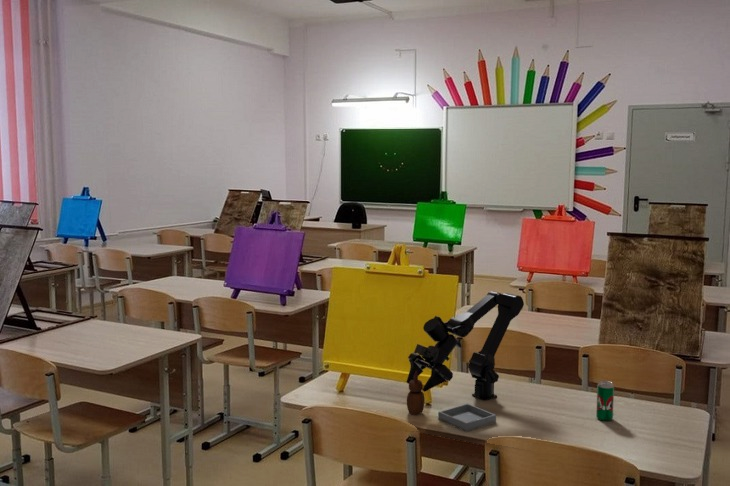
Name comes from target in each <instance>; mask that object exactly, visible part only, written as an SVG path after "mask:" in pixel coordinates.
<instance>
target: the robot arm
mask: <svg viewBox="0 0 730 486" xmlns="http://www.w3.org/2000/svg"><path fill="white" fill-rule="evenodd" d="M524 305H525V303H524V299H523V297H522V296H521V295H517V294H514V293H509V292H506V293H503V294H502V293H500V292H497V291H489V292H488V293H487V294H486V295H485V296H484V297H483V298H481V299H480V300H479V301H478V302H476V303H475V304H474V305H473V306H471V307H470V308H469V309H468V310H466V311H465V312H462V313H460V314H456V315H454V316H455V318H454V316H453V317H451V318H449V320H446V321H443V319H442V318H441V317H440V316H437V315H435V316H434V317H433V318H430V319H429V320H427V321H426V322H425V323H424V324H423V326H422V327H423V328H422V329H423V331H424V333H426V334H427V335H428V336H429V338H430V339H431V340H432V341H433V342H436V343H435V344H434V345H428V347H426V346H424V345H421V344H419V343H417V344H416V346H415V348H414V352H411V353H410V354H409V355H408V357H407V359H408V362H409V364H410V368H409V372H408V376H407V379H406V384H407V385H409V382H410V381H411V380H413V378H414V374H415V371H416V372H418V377H419V376H420V375H421V374H422V373H423V372H424V370H425V369H430V370H431V372H430V376H429V378H428V380H427V381H426V382H425V384H424V386H423V389H422V392H423V393H424V392H427V391H429V390H431V389H432V388H435V387H436V386H438V385H440V384H443V383H447V382H451V380H452V379H453V377H454V372H453V371H451V369H450V368H449V367H447V365H445V364H444V363H445V361H446V362H448V361H449V360H450V357H449V356H450V355H451V353H452V351H453V350H454V349H455V347H457V348H462V343H461V342H462V340H461V338H465V337H468V335H469V334H470V333H471V332H472V330H473V329H474V327H475V324H476V323H477V322H479V321H480V319H482V318H483V317H484V316H485V315H487V314H488V313H489V312H490V311H492V310H493V309H494V308H495V307H497V315H496V318H495V320H494V322H493V324H492V327H491V329H490V331H489V332H488V336H486V339H485V342H484V344H483V346H482V348H481V350H480V351H478V352H477V351H474V352H472V355H471V356H470V357H471V358H470V359H469V360H468V371H469V372H470V375H471V378H473V379H475V380H474V382H475V383H474V393H472V394H471V396H472V397H475V398H478V399H479V400H482V401H487V400H492V399H494V398H498V395H497V394H495V393H494V392H495V384H496V383H497V382H499V378H500V375H499V374H498V373H497V372H496V371H495V366H496V362H495V361H496V360H495V359H496V358H495V356H496V353H497V351H498V350H499V347H500V345H501V343H502V341H503V339H504V337H505V334H506V332H507V330H508V327H509V325H510V324H511V321H512V320H513V319H515V318H516V317H517V316H519V314H520V312H521V311H522V310H523V308H524ZM457 337H460V338H457Z"/></svg>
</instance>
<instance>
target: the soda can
mask: <svg viewBox="0 0 730 486" xmlns="http://www.w3.org/2000/svg"><path fill="white" fill-rule="evenodd" d="M596 388H597V390H596V414H595V415H596V419H598V420H600V421H603V422H610V421H612V420H613V419H614V400H615V399H614V397H615V396H614V395H615V385H614V383H613V382H612V381H609V380H600V381H598V383H597V386H596Z"/></svg>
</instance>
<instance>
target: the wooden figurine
mask: <svg viewBox="0 0 730 486" xmlns="http://www.w3.org/2000/svg"><path fill="white" fill-rule="evenodd" d="M423 388H424V386H423V382H422V380H420V379H419V376H418V372H416V371H415V374H414V378H413V380H411V381H410V382H409V384H408V390H409V391H408V393H407V396H406V408H407V411H408V413H409V414H410V415H413V416H419V415H422V413H423V412H424V408H425V394H424V391H423Z"/></svg>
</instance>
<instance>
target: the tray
mask: <svg viewBox="0 0 730 486" xmlns="http://www.w3.org/2000/svg"><path fill="white" fill-rule="evenodd" d="M437 413H438V414H437V415H438V416H437V418H438V420H439V421H441V422H444V423H446V424H449V425H450V426H452V427H454V426H455V427H454V428H457V429H459V430H461V429H462V431H463V430H464V431H463V432H465V431H466V432H465V433H467V431H468V432H470V431H471V432H472V431H474V430H478V429H479V428H482V427H486V426H489V425H493V424H495V423H497V414H495V413H493V412H490V411H488V410H485V409H482V408H480V407H477V406H475V405H472V404H471V403H464V404H460V405H457V406H453V407H451V408H447V409H444V410H440V411H438V412H437Z"/></svg>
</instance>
